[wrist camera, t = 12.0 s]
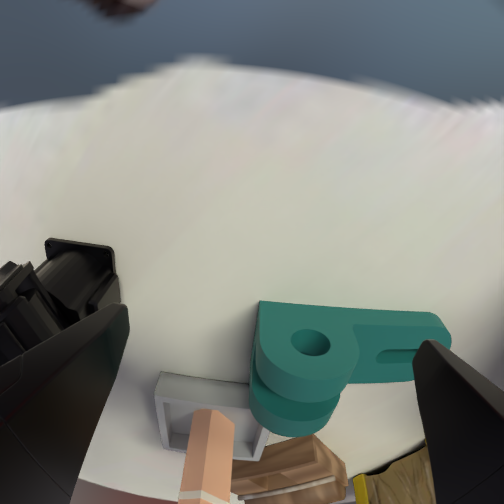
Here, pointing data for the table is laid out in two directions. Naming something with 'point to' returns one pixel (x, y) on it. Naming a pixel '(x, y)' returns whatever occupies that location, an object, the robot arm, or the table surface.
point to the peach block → (208, 459)
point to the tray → (206, 397)
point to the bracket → (328, 358)
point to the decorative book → (399, 482)
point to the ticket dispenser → (291, 474)
